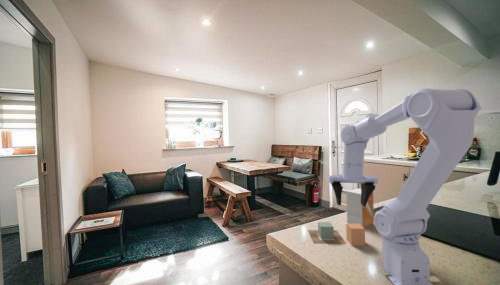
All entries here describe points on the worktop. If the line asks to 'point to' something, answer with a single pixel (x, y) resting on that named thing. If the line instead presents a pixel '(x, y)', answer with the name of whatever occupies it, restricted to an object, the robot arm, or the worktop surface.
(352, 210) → the small box
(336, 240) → the build board
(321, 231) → the green block
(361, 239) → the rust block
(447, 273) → the worktop surface
